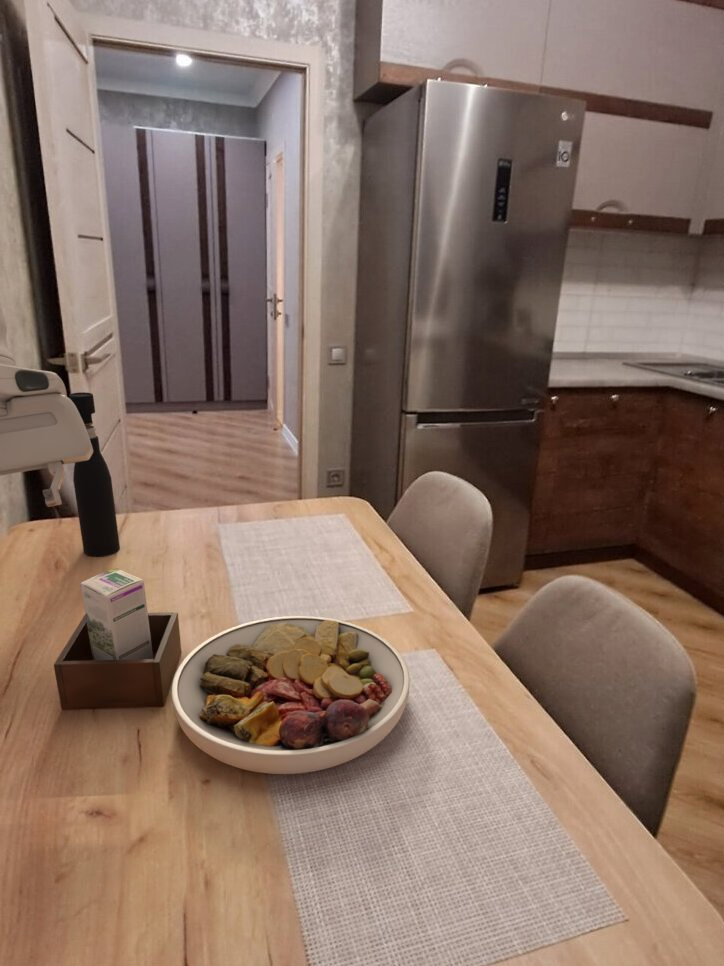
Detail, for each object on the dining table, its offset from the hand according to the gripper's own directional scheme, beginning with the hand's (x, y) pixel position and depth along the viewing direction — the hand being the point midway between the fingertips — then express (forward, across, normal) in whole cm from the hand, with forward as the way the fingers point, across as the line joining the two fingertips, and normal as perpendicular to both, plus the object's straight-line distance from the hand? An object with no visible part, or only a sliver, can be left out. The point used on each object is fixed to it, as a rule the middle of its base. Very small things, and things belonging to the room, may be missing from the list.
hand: (8, 514), depth 74 cm
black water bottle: (+2, +6, +57) cm, 57 cm away
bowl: (+32, +26, +5) cm, 41 cm away
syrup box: (+22, +7, +16) cm, 28 cm away
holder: (+23, +7, +16) cm, 29 cm away
